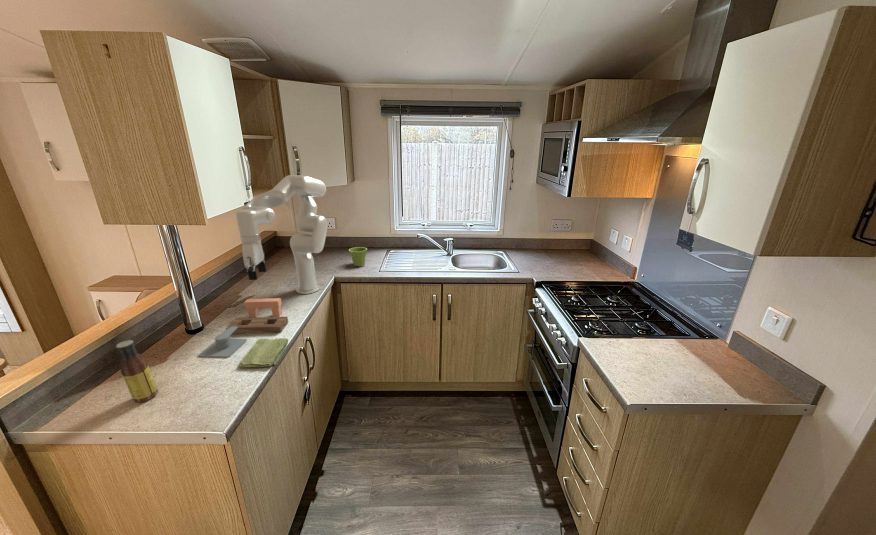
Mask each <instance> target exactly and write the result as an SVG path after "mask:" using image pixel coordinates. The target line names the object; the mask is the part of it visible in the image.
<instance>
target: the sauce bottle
mask: <svg viewBox="0 0 876 535" xmlns="http://www.w3.org/2000/svg"><path fill="white" fill-rule="evenodd" d="M135 345H136V343H135V341H134V340H132V339H129V340H124V341H121V342H118V343H117V344H116V345H115V349H116V351H117V353H118V354H119V357H120V360H121V361H120V373H121V376H122V378H123V380H124V383H125V384H126V387H127V389H128V391H129V394H130V397H131V398H132V399H133V400H134V402H136V403H143V402H144V403H145V402H146V401H149V400H151V399H153V398H154V397H156V395H158V393H159V390H158V386H157V384H156V381H155V378H154V375H153V373H152V371H151V369H150V366H149V364H148V363H147V360H146V359H145V357H144V356H143V355H142V354H140V353H138V351H137V349H136V346H135Z"/></svg>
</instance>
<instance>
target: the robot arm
mask: <svg viewBox="0 0 876 535" xmlns="http://www.w3.org/2000/svg"><path fill="white" fill-rule="evenodd" d="M326 193H327V187H326V184H325V182H323V181H322V180H320V179H317V178H314V177H311V176H308V175H302V174H299V175H298V174H291V175H290V174H289V175H286V176H284V178H282V179H281V180H280V181H279V182H278V183H277V184H276V185H275V186H274V187H272V189H271V190H269V191H265V192H264V193H261V194H259V195H257V196H255V197H253V198H252V199H250V200H251V201H250V200H249V201H250V202H249V201H248V202H247V203H246V204H244V205H243V207H242V209H240V210H237V211H236V212H235V218H236V222H237V226H238V231H239V236H240V241H241V242H240V243H241V250H242V251H241V252H242V259H243V264H244V265H243V266H244V268H245V269H246V272H247V275H248V280H250V281H257V280H258V275H257V271H256V266H257V269H258V272H259V273H266V272H267V268H266V267H267V266H266V261H265V260H266V259H265V251H264V249H263V245H262V238H261V232H260V228H259V227H260V226H261V225H268V224H271V223H273V222H274V220H275V218H276V213H275V211H274V210H273V209H272V208H277V207H281V206H284V205H286V204H287V203H288V202H289V201H290V200H291V199H292V198H293V197H294V196H295V195H296V196H297V198H298V200H299V204H300V206H299V211H298V212H299V213H298V216H297V223H296V228H297V230H298V231H300V232H303V233H296V234H294V235H292V236H291V237H290V240H289V246H290V249H291V251H292V255H293V259H294V264H295V272H296V279H297V284H298V286H297V287H296V288H295V291H296V293H297V294H300V295H307V294H313V293H316V292H318V291H320V290H321V285H320V284H318V283H317V276H316V275H317V274H316V269H315V268H316V267H315V260H314V257H313V254H320V253H321V252H323V249H324V247H325V243H326V238H327V232H328V224H329V223H328V221H327V218H326V217H325V216H323V215H321V214H320V215H318V214H317V213H318V204H317V203H316V201H315V198H322V197H324V196H325V195H326ZM306 233H307V234H306ZM308 233H309V234H308ZM310 233H311V234H310Z"/></svg>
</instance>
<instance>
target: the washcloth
mask: <svg viewBox="0 0 876 535" xmlns="http://www.w3.org/2000/svg"><path fill="white" fill-rule="evenodd" d="M288 343H289V339H288V337H287V338H283V337H282V338H270V339H269V338H258V339H257V340H256V341H255V343H254V344H253V345H252V346H251V348H250V349H249V350H248V351H247V353H246V354H245V355H244V356H243V358H241V360H240V362H239V363H238V366H237V367H238V368H239V369H240V368H241V369H244V368H255V369H256V368H263V367H272V366H273V367H274V366H276V365H277V364H278V362H279V360H280V359H281V357H282V355H283V353H284V352H285V350H286V347H287V346H288Z"/></svg>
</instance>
